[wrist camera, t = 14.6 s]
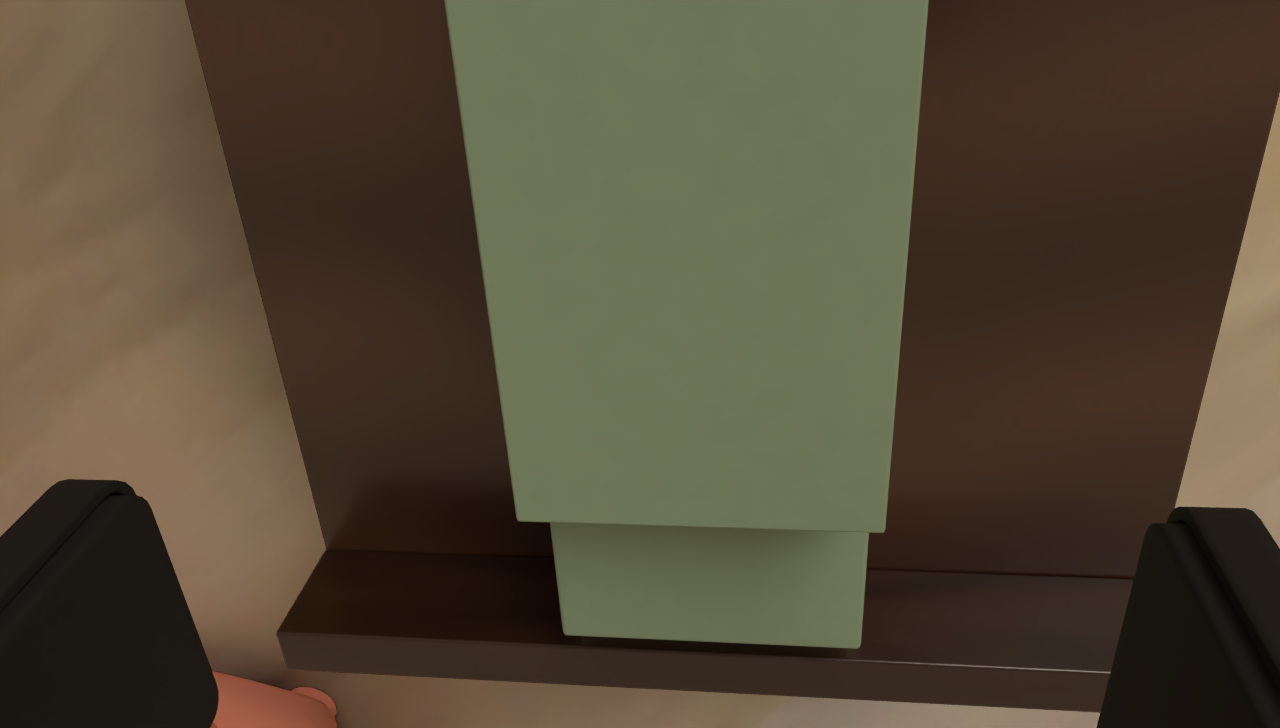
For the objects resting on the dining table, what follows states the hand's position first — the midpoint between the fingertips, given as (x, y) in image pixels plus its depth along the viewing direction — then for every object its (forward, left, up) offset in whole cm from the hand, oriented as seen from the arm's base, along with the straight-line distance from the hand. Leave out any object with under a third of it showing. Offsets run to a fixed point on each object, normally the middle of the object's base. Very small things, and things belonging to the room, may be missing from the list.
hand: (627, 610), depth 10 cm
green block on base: (+1, 0, -12) cm, 12 cm away
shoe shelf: (+1, 0, -18) cm, 18 cm away
